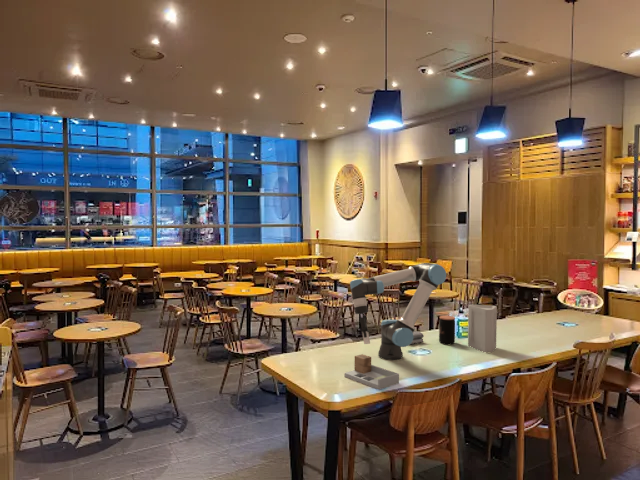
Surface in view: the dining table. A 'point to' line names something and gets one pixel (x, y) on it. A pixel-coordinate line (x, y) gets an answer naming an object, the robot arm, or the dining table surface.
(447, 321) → the coffee jar
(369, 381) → the deck
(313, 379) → the dining table surface
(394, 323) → the robot arm
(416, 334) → the towel
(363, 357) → the block
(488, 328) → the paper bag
